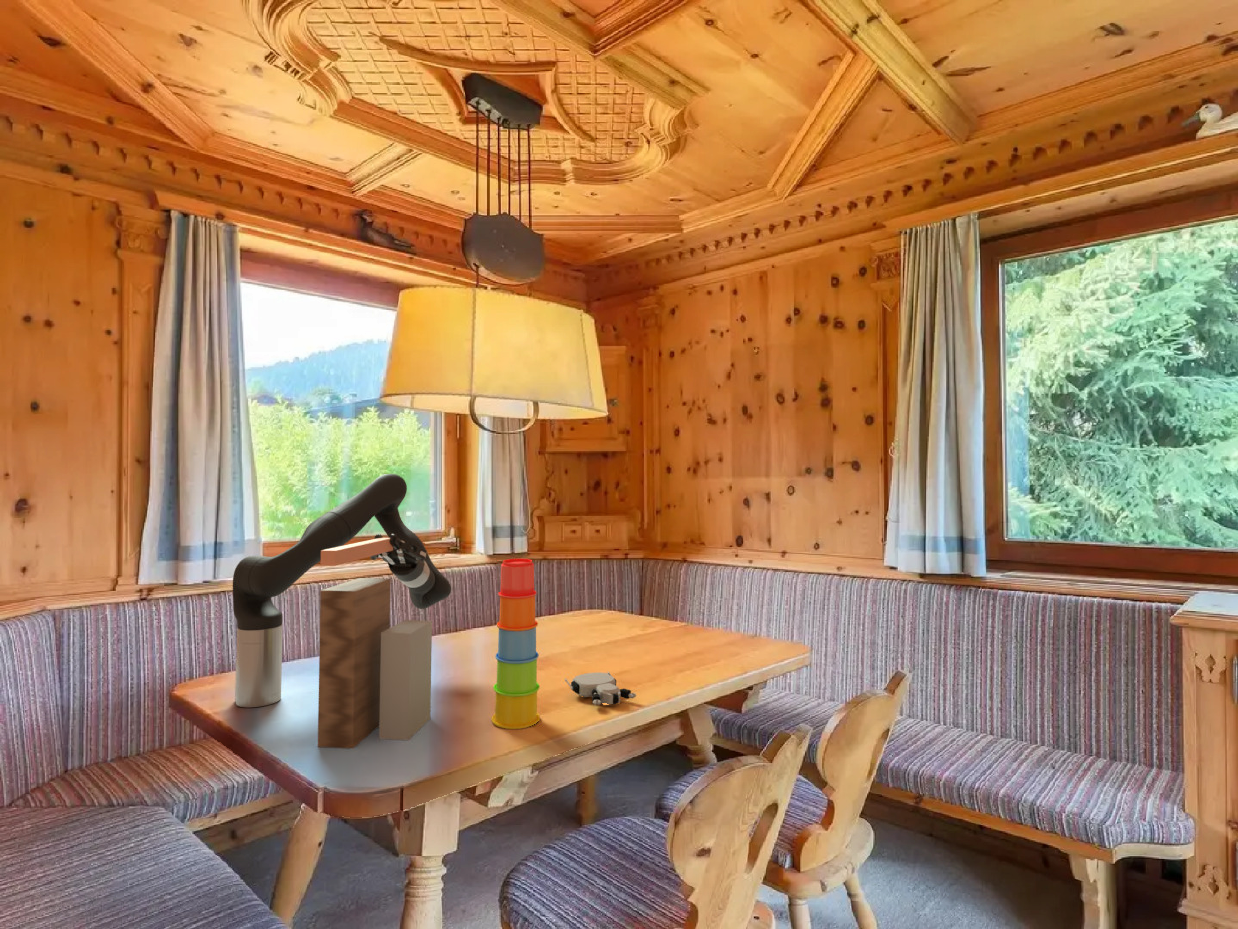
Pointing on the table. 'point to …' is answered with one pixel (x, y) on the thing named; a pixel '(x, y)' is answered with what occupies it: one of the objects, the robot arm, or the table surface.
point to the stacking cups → (516, 648)
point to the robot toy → (599, 688)
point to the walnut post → (351, 660)
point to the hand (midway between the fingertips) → (384, 538)
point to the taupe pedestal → (405, 679)
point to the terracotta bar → (355, 551)
